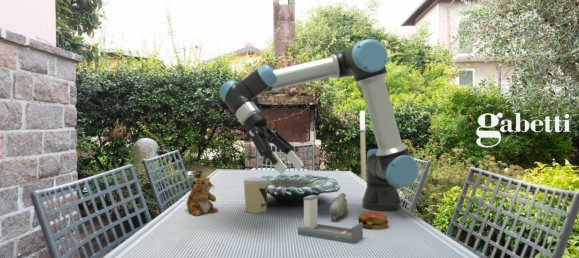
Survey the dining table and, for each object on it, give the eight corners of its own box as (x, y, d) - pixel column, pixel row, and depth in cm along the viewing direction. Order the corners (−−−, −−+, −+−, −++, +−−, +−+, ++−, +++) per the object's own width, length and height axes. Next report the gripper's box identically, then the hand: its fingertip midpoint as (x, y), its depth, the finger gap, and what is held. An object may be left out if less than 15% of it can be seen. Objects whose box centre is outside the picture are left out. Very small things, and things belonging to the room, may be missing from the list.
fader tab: (303, 229, 128) (303, 197, 128) (311, 225, 133) (311, 194, 132) (309, 230, 127) (309, 198, 127) (317, 226, 131) (317, 195, 131)
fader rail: (297, 234, 128) (297, 219, 128) (308, 229, 134) (308, 215, 134) (353, 243, 119) (353, 227, 119) (362, 237, 125) (362, 222, 125)
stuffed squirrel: (197, 216, 150) (197, 180, 150) (178, 210, 161) (178, 175, 160) (221, 212, 157) (221, 177, 156) (201, 206, 167) (201, 173, 167)
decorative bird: (325, 221, 145) (325, 200, 144) (335, 212, 160) (336, 192, 160) (341, 223, 143) (341, 201, 143) (350, 213, 158) (350, 193, 158)
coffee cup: (264, 214, 155) (264, 181, 155) (240, 212, 157) (240, 180, 156) (271, 208, 164) (271, 177, 164) (247, 207, 166) (247, 177, 166)
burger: (380, 222, 144) (381, 208, 144) (392, 229, 135) (392, 214, 135) (353, 223, 142) (353, 209, 142) (363, 230, 133) (363, 216, 133)
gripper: (264, 126, 151) (302, 173, 144) (224, 127, 132) (265, 181, 124) (276, 111, 148) (316, 158, 141) (237, 110, 129) (281, 164, 122)
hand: (292, 169), depth 133 cm, fingers open, 10 cm apart
